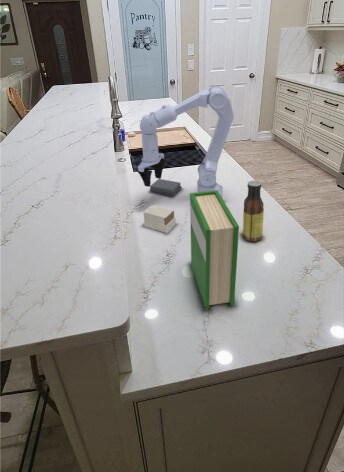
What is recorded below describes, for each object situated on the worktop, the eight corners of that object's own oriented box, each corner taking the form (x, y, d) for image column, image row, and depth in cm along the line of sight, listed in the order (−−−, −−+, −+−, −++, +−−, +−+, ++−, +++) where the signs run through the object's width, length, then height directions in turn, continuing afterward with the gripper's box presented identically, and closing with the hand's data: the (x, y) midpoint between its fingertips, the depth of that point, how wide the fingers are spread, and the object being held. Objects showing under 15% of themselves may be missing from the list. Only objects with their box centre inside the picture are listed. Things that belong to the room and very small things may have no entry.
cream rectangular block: (176, 224, 117) (176, 217, 115) (167, 233, 112) (166, 226, 111) (153, 218, 121) (152, 211, 120) (143, 226, 117) (142, 219, 115)
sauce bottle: (263, 233, 110) (269, 180, 101) (259, 244, 105) (265, 189, 96) (244, 229, 112) (247, 177, 103) (239, 239, 107) (243, 185, 98)
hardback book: (234, 305, 83) (239, 226, 72) (205, 309, 82) (206, 230, 71) (215, 261, 99) (217, 190, 87) (191, 264, 98) (190, 193, 87)
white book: (174, 217, 116) (173, 210, 114) (166, 225, 111) (165, 218, 110) (152, 211, 120) (152, 204, 118) (144, 219, 116) (143, 211, 114)
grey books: (182, 189, 141) (181, 182, 140) (172, 197, 135) (171, 191, 134) (160, 184, 147) (159, 178, 145) (149, 192, 140) (148, 185, 139)
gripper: (152, 141, 127) (154, 173, 133) (129, 153, 116) (133, 187, 122) (167, 143, 124) (169, 176, 130) (146, 156, 113) (149, 191, 119)
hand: (152, 181), depth 126 cm, fingers open, 7 cm apart
